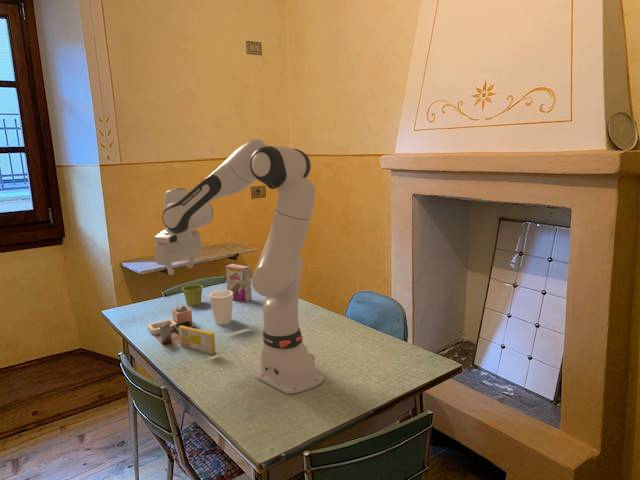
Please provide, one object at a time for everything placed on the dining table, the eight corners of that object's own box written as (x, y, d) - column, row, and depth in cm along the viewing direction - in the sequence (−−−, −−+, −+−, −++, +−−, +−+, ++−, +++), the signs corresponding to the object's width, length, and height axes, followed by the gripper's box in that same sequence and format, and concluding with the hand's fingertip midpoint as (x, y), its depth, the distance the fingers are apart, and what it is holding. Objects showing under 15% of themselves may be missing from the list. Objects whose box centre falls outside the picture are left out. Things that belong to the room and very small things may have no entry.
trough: (178, 329, 187) (177, 324, 186) (152, 335, 181) (151, 330, 181) (172, 323, 193) (171, 318, 193) (147, 329, 188) (146, 324, 187)
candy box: (216, 354, 167) (214, 332, 165) (212, 356, 165) (210, 334, 163) (183, 345, 175) (181, 324, 173) (179, 347, 173) (177, 326, 171)
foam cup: (237, 319, 198) (235, 290, 195) (231, 328, 189) (229, 297, 186) (215, 319, 198) (213, 290, 196) (208, 328, 189) (206, 297, 187)
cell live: (173, 342, 174) (171, 324, 173) (163, 345, 172) (161, 326, 171) (170, 339, 177) (168, 321, 175) (160, 342, 175) (158, 323, 174)
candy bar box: (227, 299, 223) (224, 265, 219) (234, 296, 227) (232, 263, 223) (245, 303, 217) (243, 268, 213) (252, 299, 221) (250, 266, 217)
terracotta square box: (192, 324, 191) (191, 310, 190) (178, 328, 188) (176, 313, 187) (187, 319, 196) (186, 306, 195) (173, 323, 193) (171, 309, 191)
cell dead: (188, 324, 191) (187, 306, 190) (180, 326, 190) (178, 308, 188) (185, 321, 194) (184, 304, 193) (177, 323, 192) (175, 306, 191)
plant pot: (182, 304, 218) (180, 286, 216) (202, 300, 222) (200, 283, 220) (185, 310, 210) (183, 292, 208) (206, 306, 214) (205, 288, 212)
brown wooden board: (207, 338, 179) (206, 331, 179) (164, 350, 171) (164, 342, 170) (187, 321, 197) (186, 314, 196) (148, 330, 188) (147, 323, 188)
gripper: (192, 227, 178) (194, 262, 181) (150, 238, 160) (153, 277, 163) (205, 229, 175) (206, 265, 178) (163, 240, 157) (166, 279, 161)
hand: (180, 270), depth 171 cm, fingers open, 8 cm apart
